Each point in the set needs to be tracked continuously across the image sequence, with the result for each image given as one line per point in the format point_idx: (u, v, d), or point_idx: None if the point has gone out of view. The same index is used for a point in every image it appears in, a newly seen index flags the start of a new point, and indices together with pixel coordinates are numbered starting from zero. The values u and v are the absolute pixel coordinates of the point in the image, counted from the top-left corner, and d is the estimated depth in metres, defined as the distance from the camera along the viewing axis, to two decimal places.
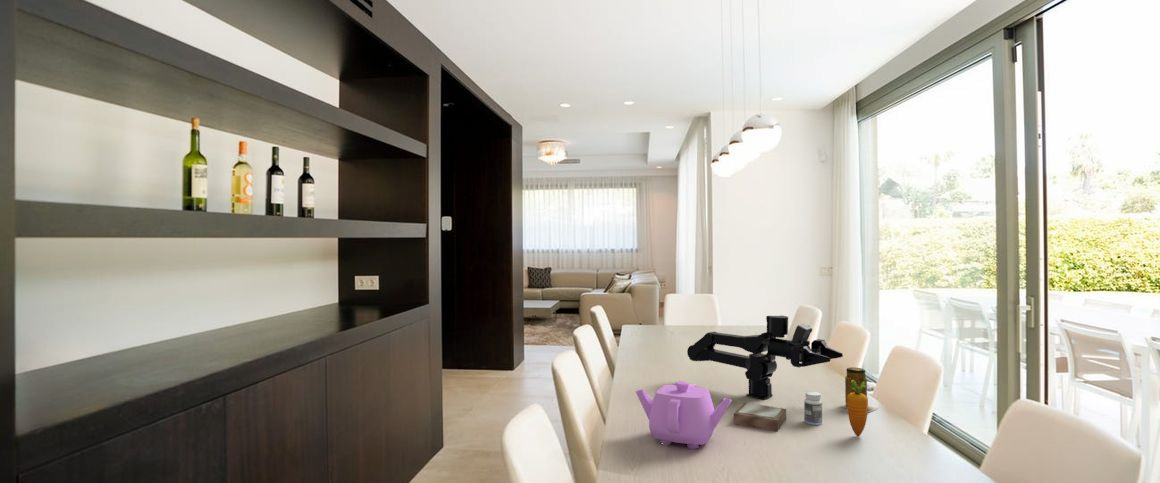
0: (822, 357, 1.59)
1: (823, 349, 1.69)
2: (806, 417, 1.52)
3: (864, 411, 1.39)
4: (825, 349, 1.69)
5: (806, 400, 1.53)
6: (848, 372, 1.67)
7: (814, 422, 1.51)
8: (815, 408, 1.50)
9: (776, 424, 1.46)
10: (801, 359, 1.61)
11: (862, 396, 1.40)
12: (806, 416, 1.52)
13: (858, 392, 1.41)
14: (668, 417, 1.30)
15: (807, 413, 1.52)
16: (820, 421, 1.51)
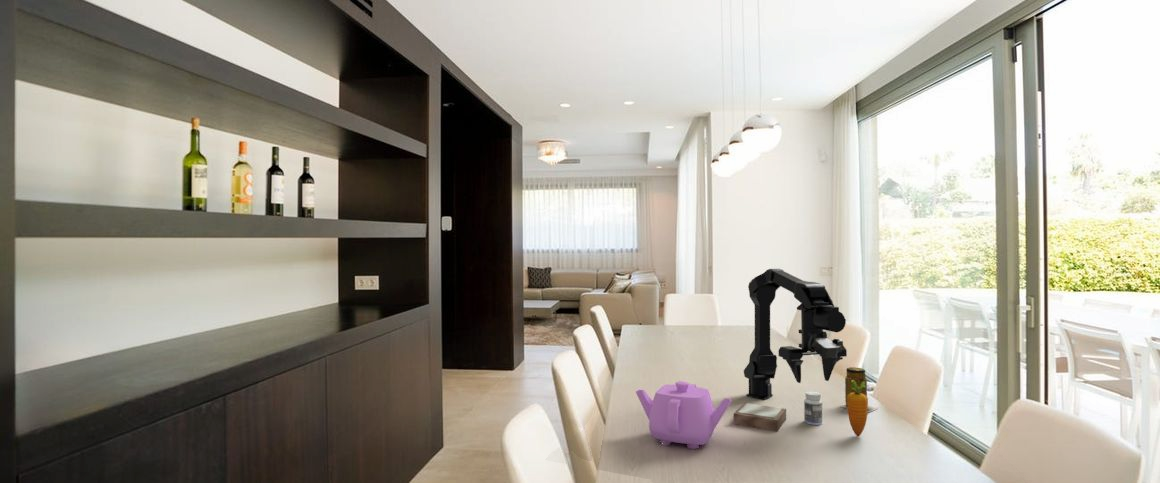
0: (797, 376, 1.51)
1: (829, 360, 1.53)
2: (806, 417, 1.52)
3: (864, 411, 1.39)
4: (829, 362, 1.53)
5: (806, 400, 1.53)
6: (848, 372, 1.67)
7: (814, 422, 1.51)
8: (815, 408, 1.50)
9: (776, 424, 1.46)
10: (786, 358, 1.52)
11: (862, 396, 1.40)
12: (806, 416, 1.52)
13: (858, 392, 1.41)
14: (668, 417, 1.30)
15: (807, 413, 1.52)
16: (820, 421, 1.51)
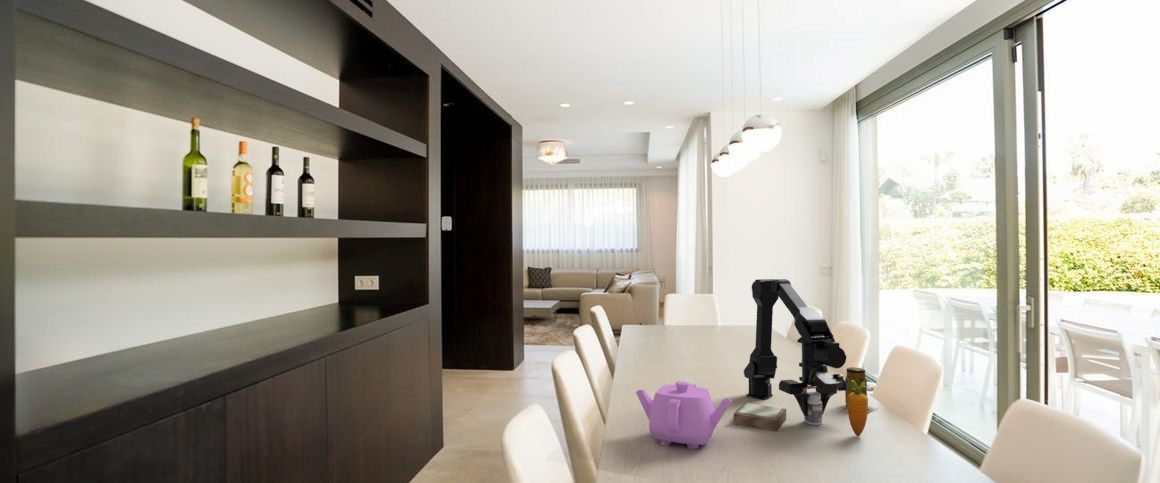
0: (804, 409, 1.52)
1: (823, 394, 1.53)
2: (806, 417, 1.52)
3: (864, 411, 1.39)
4: (823, 396, 1.53)
5: None
6: (848, 372, 1.67)
7: (814, 422, 1.51)
8: (815, 408, 1.50)
9: (776, 424, 1.46)
10: None
11: (862, 396, 1.40)
12: (806, 416, 1.52)
13: (858, 392, 1.41)
14: (668, 417, 1.30)
15: None
16: (820, 421, 1.51)
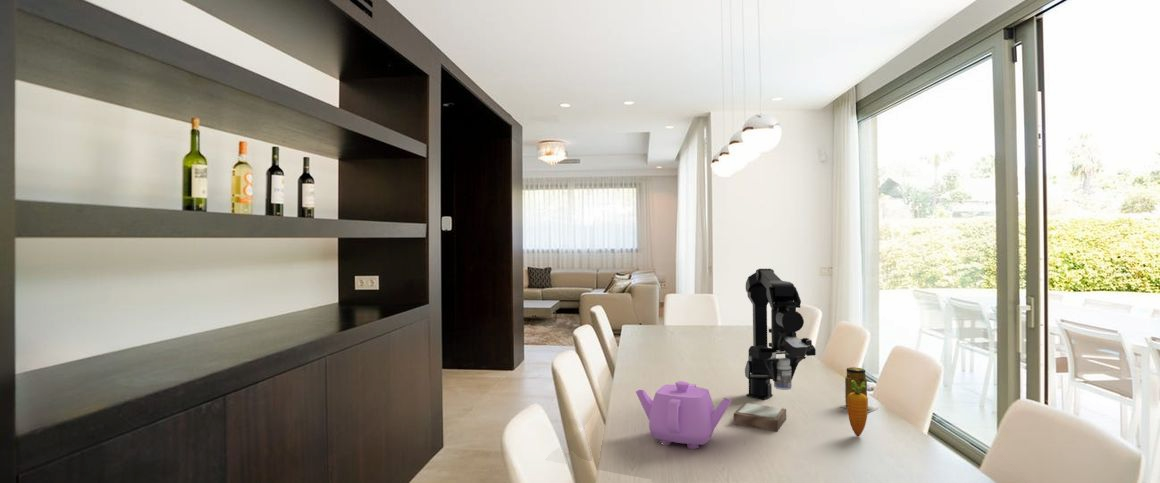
0: (773, 375, 1.52)
1: (792, 359, 1.54)
2: (776, 382, 1.53)
3: (864, 411, 1.39)
4: (792, 362, 1.53)
5: None
6: (848, 372, 1.67)
7: (783, 387, 1.51)
8: (784, 373, 1.51)
9: (776, 424, 1.46)
10: None
11: (862, 396, 1.40)
12: None
13: (858, 392, 1.41)
14: (668, 417, 1.30)
15: (777, 379, 1.52)
16: (789, 386, 1.51)
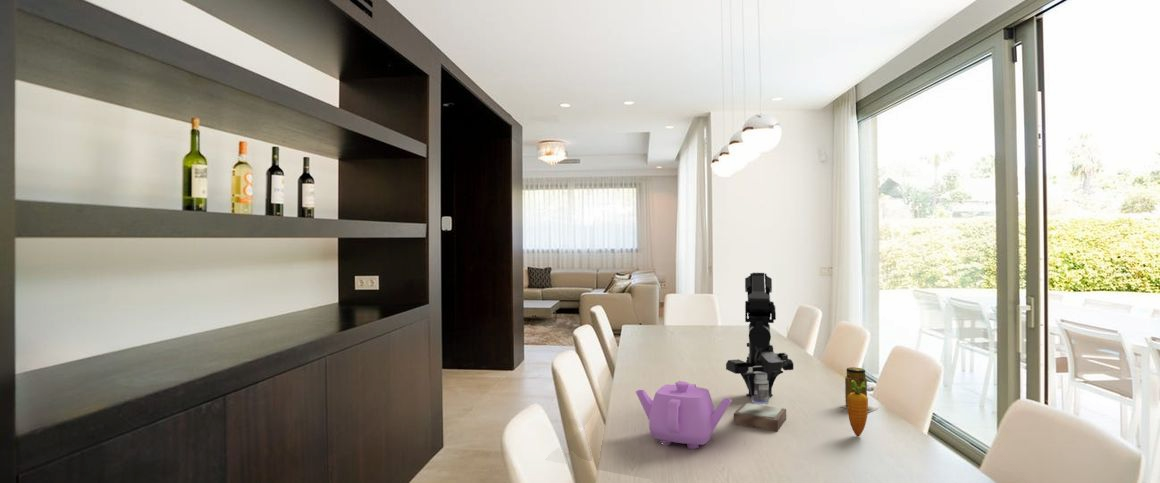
0: (750, 389, 1.53)
1: (770, 373, 1.54)
2: (753, 396, 1.53)
3: (864, 411, 1.39)
4: (770, 376, 1.54)
5: None
6: (848, 372, 1.67)
7: (760, 401, 1.52)
8: (761, 387, 1.52)
9: (776, 424, 1.46)
10: None
11: (862, 396, 1.40)
12: (753, 396, 1.53)
13: (858, 392, 1.41)
14: (668, 417, 1.30)
15: (754, 393, 1.53)
16: (766, 400, 1.52)
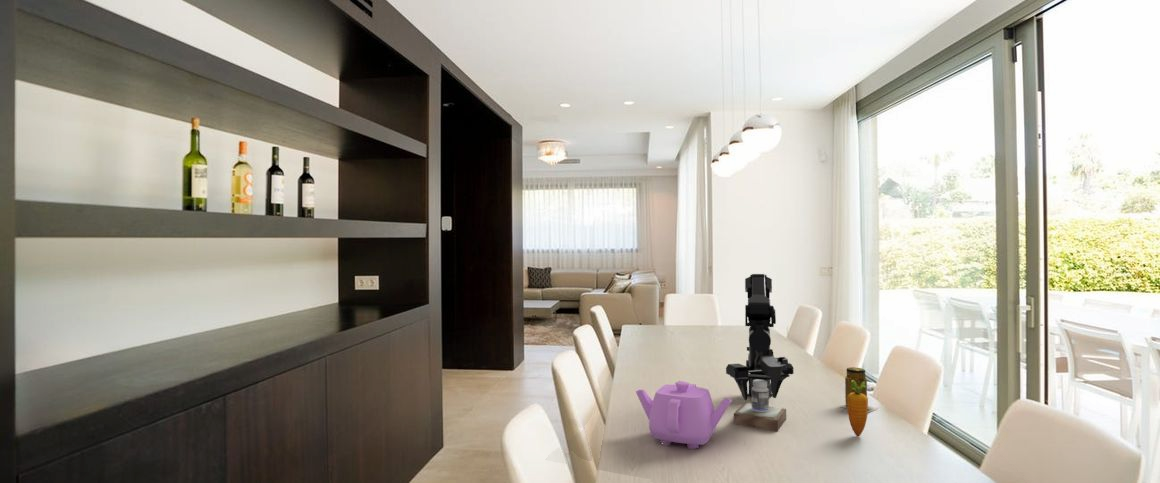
0: (744, 393, 1.52)
1: (776, 377, 1.54)
2: (753, 404, 1.53)
3: (864, 411, 1.39)
4: (776, 380, 1.54)
5: (753, 388, 1.54)
6: (848, 372, 1.67)
7: (760, 409, 1.52)
8: (761, 395, 1.52)
9: (776, 424, 1.46)
10: (733, 375, 1.53)
11: (862, 396, 1.40)
12: (753, 404, 1.53)
13: (858, 392, 1.41)
14: (668, 417, 1.30)
15: (754, 401, 1.53)
16: (766, 408, 1.52)
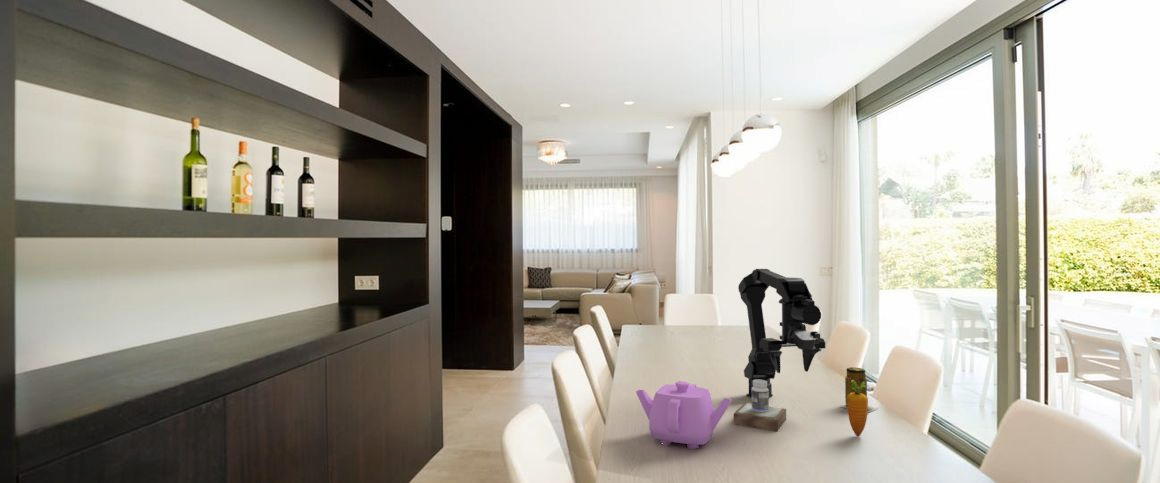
0: (777, 366, 1.58)
1: (808, 351, 1.60)
2: (753, 404, 1.53)
3: (864, 411, 1.39)
4: (808, 354, 1.60)
5: (753, 388, 1.54)
6: (848, 372, 1.67)
7: (760, 409, 1.52)
8: (761, 395, 1.52)
9: (776, 424, 1.46)
10: (766, 349, 1.59)
11: (862, 396, 1.40)
12: (753, 404, 1.53)
13: (858, 392, 1.41)
14: (668, 417, 1.30)
15: (754, 401, 1.53)
16: (766, 408, 1.52)
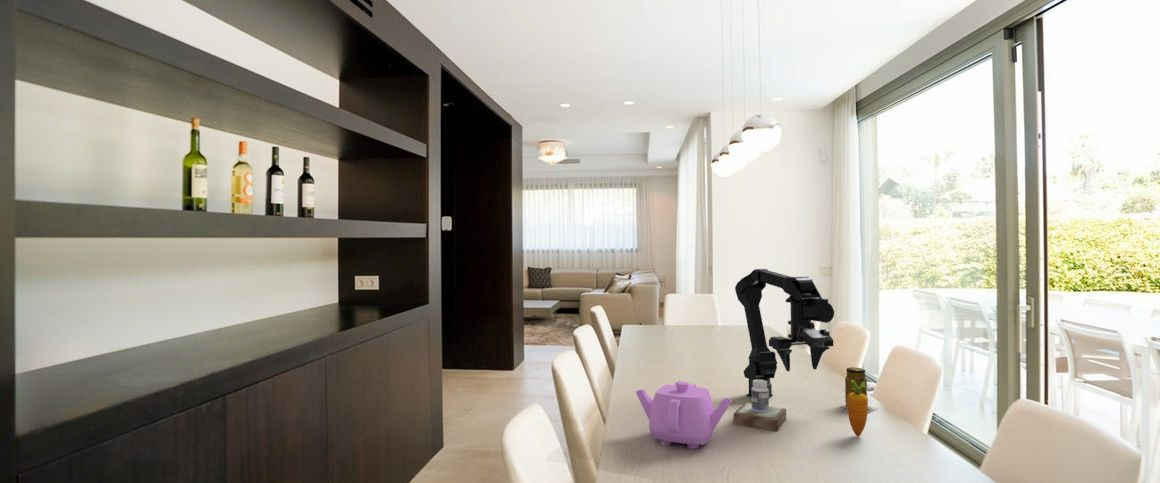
0: (786, 365, 1.60)
1: (817, 349, 1.62)
2: (753, 404, 1.53)
3: (864, 411, 1.39)
4: (817, 352, 1.62)
5: (753, 388, 1.54)
6: (848, 372, 1.67)
7: (760, 409, 1.52)
8: (761, 395, 1.52)
9: (776, 424, 1.46)
10: (776, 348, 1.60)
11: (862, 396, 1.40)
12: (753, 404, 1.53)
13: (858, 392, 1.41)
14: (668, 417, 1.30)
15: (754, 401, 1.53)
16: (766, 408, 1.52)
